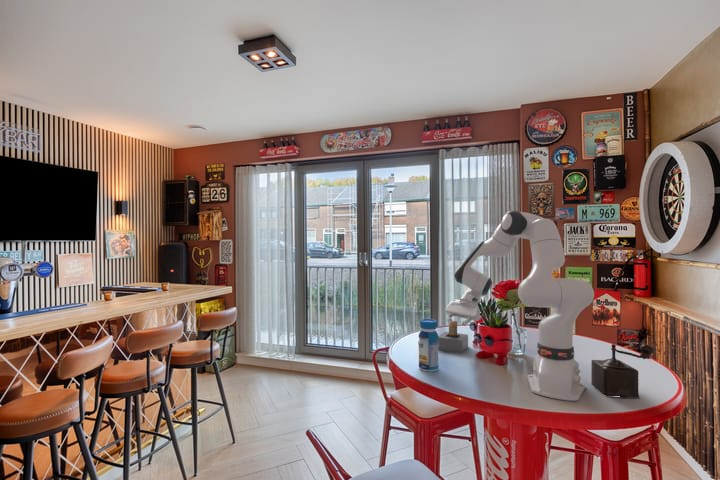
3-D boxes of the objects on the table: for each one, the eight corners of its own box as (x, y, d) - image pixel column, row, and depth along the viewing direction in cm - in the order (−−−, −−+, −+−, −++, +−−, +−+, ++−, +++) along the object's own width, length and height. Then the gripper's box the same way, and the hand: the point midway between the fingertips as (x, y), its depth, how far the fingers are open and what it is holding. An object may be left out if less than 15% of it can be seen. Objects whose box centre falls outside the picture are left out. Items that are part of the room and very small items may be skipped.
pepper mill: (606, 397, 119) (606, 344, 119) (590, 384, 130) (590, 335, 130) (658, 400, 116) (657, 346, 117) (637, 387, 127) (636, 337, 127)
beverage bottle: (439, 372, 142) (439, 323, 142) (418, 371, 143) (417, 322, 144) (438, 365, 150) (438, 318, 150) (418, 364, 152) (418, 317, 152)
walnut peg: (455, 347, 172) (455, 323, 172) (447, 346, 174) (447, 322, 174) (458, 345, 175) (458, 321, 175) (450, 344, 177) (450, 320, 177)
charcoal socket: (462, 353, 167) (462, 340, 167) (437, 349, 173) (437, 337, 173) (468, 346, 177) (468, 334, 177) (444, 343, 183) (444, 331, 183)
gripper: (450, 295, 189) (437, 315, 183) (482, 300, 172) (469, 323, 166) (455, 302, 191) (443, 323, 186) (488, 308, 174) (475, 331, 169)
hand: (456, 323), depth 176 cm, fingers open, 8 cm apart
